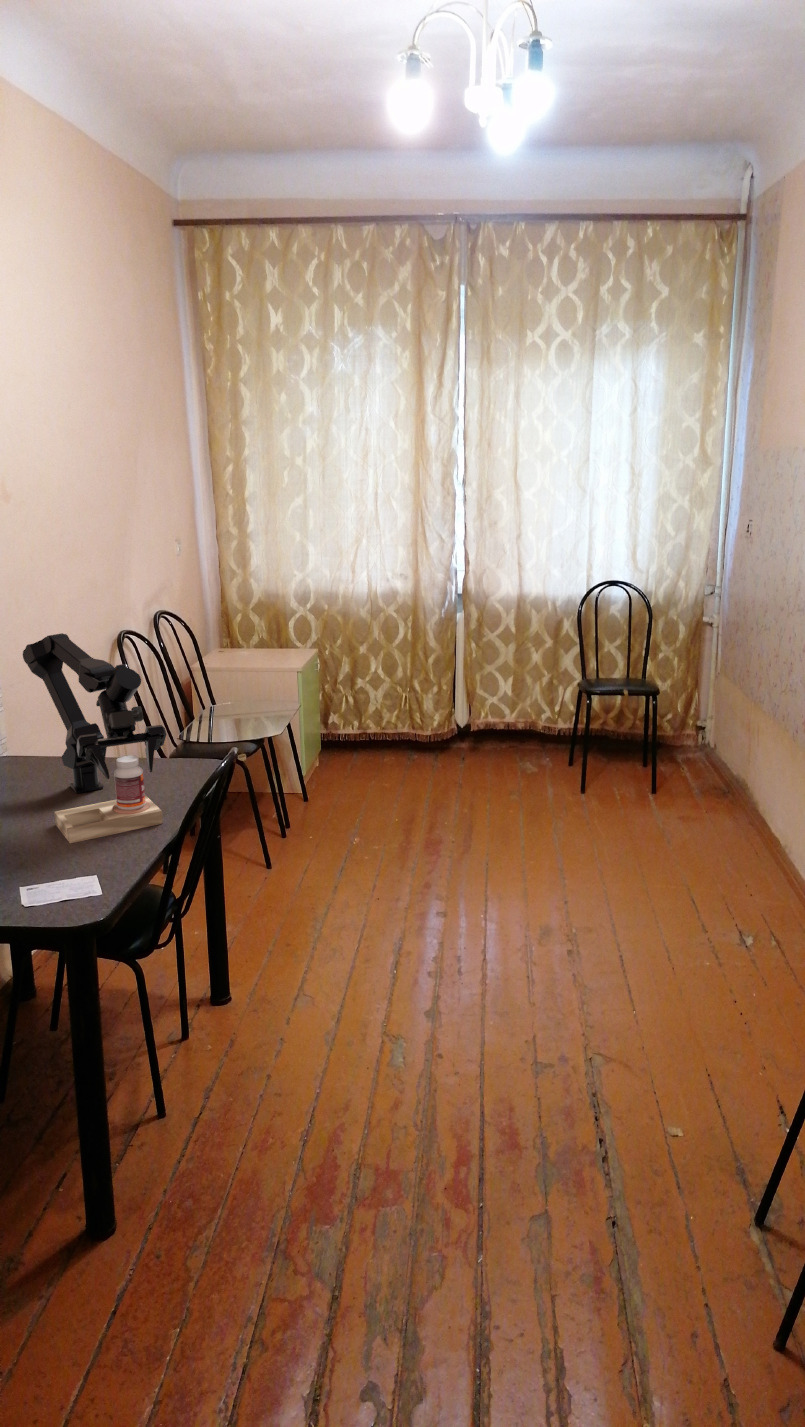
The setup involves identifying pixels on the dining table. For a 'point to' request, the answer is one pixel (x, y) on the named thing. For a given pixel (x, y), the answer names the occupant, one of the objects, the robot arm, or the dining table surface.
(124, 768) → the pill bottle
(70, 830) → the board
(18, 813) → the dining table surface
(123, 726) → the robot arm
